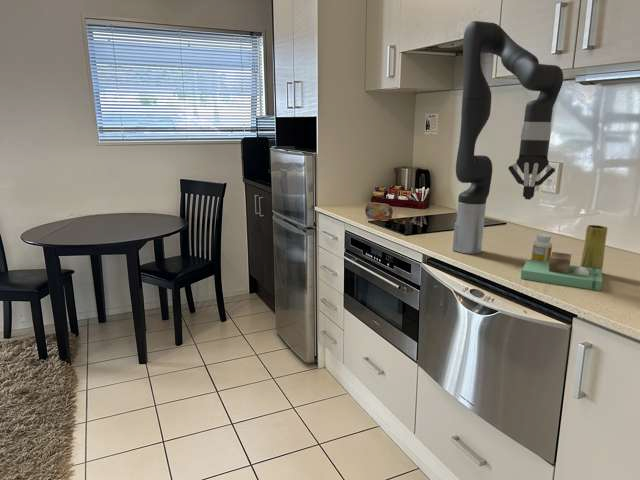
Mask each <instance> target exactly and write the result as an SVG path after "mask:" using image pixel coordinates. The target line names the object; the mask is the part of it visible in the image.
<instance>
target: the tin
mask: <svg viewBox="0 0 640 480" xmlns="http://www.w3.org/2000/svg"><path fill="white" fill-rule="evenodd" d="M393 213H394V211H393V207H392V206H391V205H390V204H388V203H381V202H369V203H368V204H367V205H366V206H365V215H366V217H367V219H368V218H369V219H368V220H370V219H374V220H373V221H375V220H380V221H386V222H390V220H392V219H393V215H394V214H393ZM380 221H379V222H380Z"/></svg>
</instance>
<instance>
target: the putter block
mask: <svg viewBox="0 0 640 480" xmlns="http://www.w3.org/2000/svg"><path fill="white" fill-rule="evenodd" d="M571 260H572V254H571V253H564V252H558V251H557V252H556V251H551V258H550V265H549V271H550V272H557V273H564V274H568V273H569V267H570V265H571Z"/></svg>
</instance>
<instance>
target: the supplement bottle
mask: <svg viewBox="0 0 640 480" xmlns="http://www.w3.org/2000/svg"><path fill="white" fill-rule="evenodd" d="M551 238H552V237H551V235H549V234H543V233H540V234H539V233H538V234H536V240H535V241H533V245H532V251H531V252H532V253H531V259H530V260H536V261H543V262H550V258H551V255H552V251H553V250H552V248H553V244H552V242H550V241H551Z"/></svg>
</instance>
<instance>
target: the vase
mask: <svg viewBox="0 0 640 480" xmlns="http://www.w3.org/2000/svg"><path fill="white" fill-rule="evenodd" d="M585 231H586V233H585V237H584V238H585V239H584V245H583V250H582V256H581V262H580V267H587V268H595V269H601V272H602V273H603V266H604V260H605V257H604V256H605V251H606V249H605V248H606V241H607V235H608V227H607V226H604V225H598V224H597V225H595V224H590V225H587V227H586V230H585Z"/></svg>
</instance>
